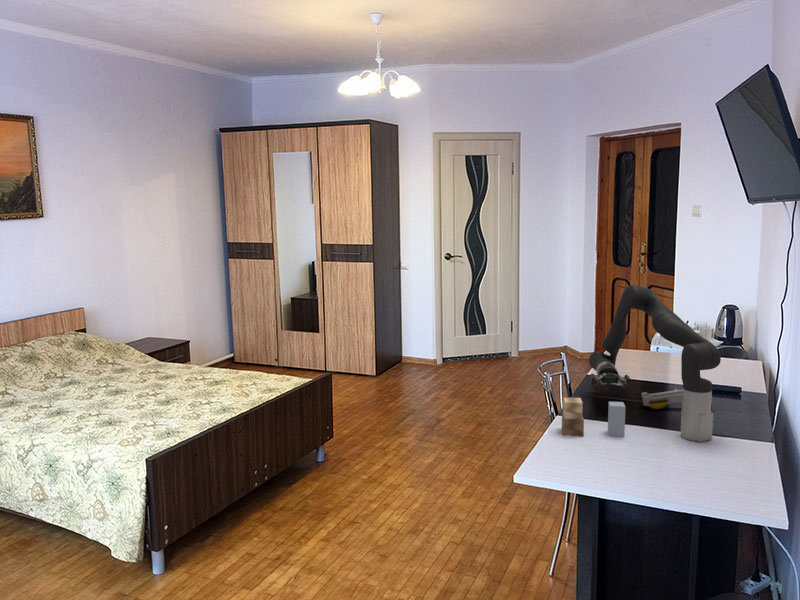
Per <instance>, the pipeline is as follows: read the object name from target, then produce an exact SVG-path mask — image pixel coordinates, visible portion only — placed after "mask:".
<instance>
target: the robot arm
mask: <svg viewBox="0 0 800 600" xmlns="http://www.w3.org/2000/svg"><path fill="white" fill-rule="evenodd" d="M632 309H633V310H636V311H637V310H638V311H642V312H644V313H645V314H647V315H648V316H650V317H651V325H652V328H653V329H654V330H655V331H656V333H658V334H659V335H660V336H661V338H663V339H664V340H666V341H667V342H670V343H672V344H675V345H677V346H680V347H682V351H681V357H680V358H681V360H680V361H681V362H680V363H681V368H680V369H681V370H680V371H681V374H680V375H681V381H682V389H683V394H682V406H681V416H680V417H681V419H680V437H681V438H683V439H685V440H689V441H693V442H699V443H702V442H703V443H704V442H706V441H710V440H713V428H714V427H713V425H714V411H712V412H711V399H712V400H713V396H712V395H713V394H712V393H713V382H712V381H711V380H709V379H706V378H703V377H701V371H707V370H713V369H715V368H717V367H719V366H720V364H721V359H722V358H721V354H720V351H719V350H718V348H717V347H716V345H715V344H713V343H712V342H711V341H709V340H708V339H706V338H705V337H703V336H702V335H701V334H699V333H698V332H696V331H695V330H694V329H693V328H692V327H690V326H689V325H688V324H687V323H686V322H685V321H684V320H682V319H681V318H680V317H679V316H678V314H676V313H675V312H673V310H671V309H670V308H669V307H668V306H667V305H665V303H663V302H662V301H661V299H660V298H659V297H658V296H657V294H656V293H655V292H654V291H653V290H652V289H650V288H648V287H644V286H640V285H637V284H636V285H635V284H630V285H628V286H626V287H625V289H624V290H623V292H622V294H621V297H620V300H619V303H618V306H617V307H616V312H615V314H614V316H613V317H614V318H613V320H612V324H611V325H610V328H609V330H608V332H607V334H606V336H605V338H604V340H602V343H601V347H602V348H603V350H604V351H606V352H607V353H609V354H610V355H609V354H607V353H603V352H602V351H598V350H597V351H593V352H592V353H591V354H590V356H589V359H588V363H589V366H590V368H591V369H593V370H594V371H596V374H594V373H590V384H591V385H595V384H596V386H597V387H599V388H602V386H604V385H605V386H613V385H616V386H619V387H620V386H621V387H622V388H623V389H625V390H626V388H628V387H630V386H631V383H632V382H631V381H632V379H631V377H630V376H629V375H628V374H625V375H623V376H621V375H619V371H618V370H617V368H616V361H617V357H618V353H619V351H620V349H621V347H622V345H623V344H624V342H625V340H626V338H627V337H626V336H627V333H628V332H627V331H628V330H627V318H628V317H627V316H628V314H629V313H630V311H631V310H632Z"/></svg>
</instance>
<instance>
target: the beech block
mask: <svg viewBox="0 0 800 600" xmlns="http://www.w3.org/2000/svg"><path fill="white" fill-rule="evenodd" d="M562 411H563V412H562V413H563V414H564V418H565V419H579V420H582V416H583V401H582V398H581V397H563V410H562Z"/></svg>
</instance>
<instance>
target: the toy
mask: <svg viewBox="0 0 800 600" xmlns="http://www.w3.org/2000/svg"><path fill="white" fill-rule="evenodd" d="M674 390H675V389H674ZM674 390H670V391H669V390H668V391H662V392H655V393H648V392H647V391H646V392H645V391H644V392H641V399H642V400H641V401H642V403H643V406H644V407H649V409H652V410H659V409H660V410H661V409H667V408H666V407H668V406H669V404H675V405H678V404H680V406H681V407H682V394H683V388H681V389H676V390H675V391H674ZM714 411H715V406H714V401H713V398H712V399H711V412H714Z"/></svg>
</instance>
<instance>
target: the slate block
mask: <svg viewBox="0 0 800 600" xmlns="http://www.w3.org/2000/svg"><path fill="white" fill-rule="evenodd" d="M625 426H626V405H625V403H624V402H623V401H608V413H607V433H608V435H609V437H623V438H625V432H626V431H625V429H626V427H625Z"/></svg>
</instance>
